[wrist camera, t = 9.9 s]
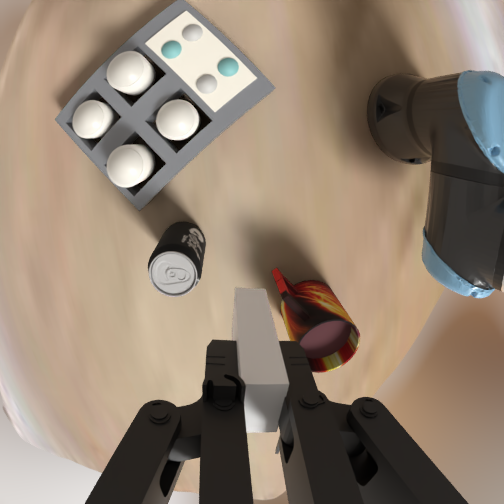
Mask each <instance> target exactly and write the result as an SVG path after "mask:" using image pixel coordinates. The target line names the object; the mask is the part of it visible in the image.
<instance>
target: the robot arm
mask: <svg viewBox="0 0 504 504" xmlns="http://www.w3.org/2000/svg"><path fill="white" fill-rule="evenodd" d="M367 116H368V123H369V127H370V131H371V133H372V136H373V138H374V140H375V142H376V143H377V145H378V146H379V147H380V149H381V150H382V151H383V152H384V153H385V154H386V155H388V156H389V157H390V158H392V159H394V160H396V161H398V162H401V163H406V164H412V165H417V164H423V163H426V162H429V161H431V173H430V186H429V196H428V205H427V213H426V221H425V226H424V228H423V237H424V240H423V248H422V259H423V263H424V264H425V266H426V269H427V271H428V272H429V273H430V274H431V276H432V277H433V278H434V279H436V280H437V281H438V282H439V283H441V284H442V285H444V286H445V287H447V288H448V289H450V290H452V291H454V292H456V293H459V294H461V295H464V296H469V295H472V296H473V297H474V298H484V297H486V296H489V295H490V294H491V293H492V292H493V291H494V290H495V289H497V290H500V291H502V292H504V77H503V76H501V75H500V74H498V73H495V72H491V71H470V70H468V71H464V72H463V73H456V74H451V75H445V76H440V77H435V78H430V79H426V78H422V77H418V76H415V75H412V74H396V75H392V76H389V77H386V78H384V79H383V80H381V81H380V82H379V83H378V84H377V85H376V86H375V87H374V89H373V91H372V93H371V95H370V98H369V101H368V108H367ZM202 392H203V395H202V397H201V398H200V399H199V400H198V401H197V402H195V403H193V404H190V405H187V406H181V407H176V406H175V405H174V404H173V403H170V402H168V401H164V400H154V401H150V402H148V403H146V404H144V405H143V406H142V407H141V408H140V410H139V412H138V413H137V415H136V417H135V418H134V420H133V422H132V423H131V425H130V427H129V428H128V430H127V432H126V434H125V435H124V437H123V439H122V440H121V442H120V444H119V445H118V447H117V449H116V450H115V452H114V454H113V456H112V457H111V459H110V461H109V462H108V464H107V466H106V468H105V469H104V471H103V473H102V474H101V476H100V478H99V480H98V481H97V483H96V485H95V487H94V488H93V490H92V492H91V494H90V495H89V497H88V499H87V500H86V502H85V504H168V502H169V500H170V497H171V495H172V492H173V490H174V487H175V485H176V482H177V480H178V477H179V475H180V472H181V470H182V467H183V464H184V462H185V460H190V459H194V458H199V457H200V488H199V504H253V494H252V485H251V475H250V464H249V454H248V443H247V432H277V429H278V425H279V429H280V437H279V440H278V444H277V447H276V453H275V454H278V453H279V450H280V455H281V461H282V467H283V472H284V478H285V484H286V490H287V495H288V501H289V504H468V503H467V501H466V500H465V499H464V498H463V497H462V496H461V494H460V493H459V492H458V491H457V490H456V489H455V488H454V486H453V485H452V484H451V483H450V482H449V481H448V479H447V478H446V477H445V476H444V475H443V474H442V472H441V471H440V470H439V469H438V468H437V467H436V466H435V464H434V463H433V462H432V461H431V460H430V458H429V457H428V456H427V455H426V454H425V453H424V451H423V450H422V449H421V448H420V447H419V446H418V444H417V443H416V442H415V441H414V440H413V439H412V437H411V436H410V435H409V434H408V433H407V432H406V430H405V429H404V428H403V427H402V426H401V425H400V424H399V422H398V421H397V420H396V419H395V418H394V416H393V415H392V414H391V413H390V412H389V411H388V410H387V408H386V407H385V406H384V405H383V404H382V403H381V402H380V401H378V400H376V399H374V398H370V397H362V398H358V399H356V400H355V401H354V402H353V403H352V405H346V404H340V403H335V402H332V401H329V400H328V399H327V397H326V396H325V394H323V393H322V392H320V391H318V389H317V386H316V383H315V380H314V377H313V374H312V371H311V369H310V366H309V363H308V360H307V358H306V354H305V351H304V348H303V347H302V346H301V345H300V344H299V343H298V342H297V341H278V337H277V333H276V329H275V325H274V321H273V317H272V313H271V309H270V305H269V301H268V297H267V293H266V289H256V288H236V287H235V297H234V310H233V323H232V341H230V340H212V341H211V342H210V344H209V345H208V346H207V353H206V368H205V379H204V382H203V385H202Z"/></svg>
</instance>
